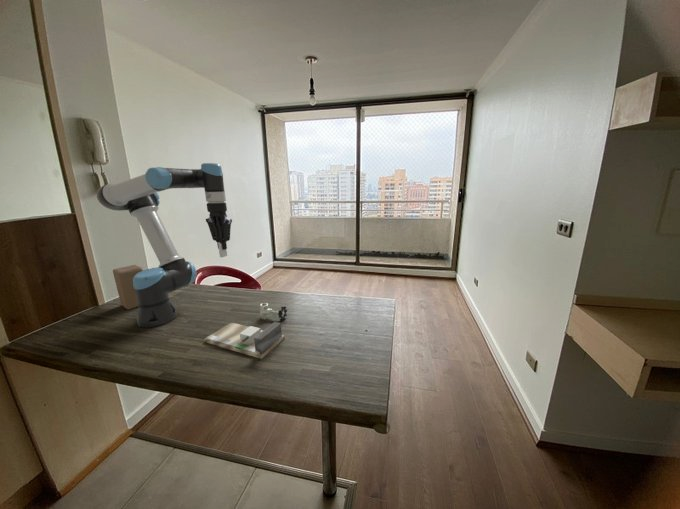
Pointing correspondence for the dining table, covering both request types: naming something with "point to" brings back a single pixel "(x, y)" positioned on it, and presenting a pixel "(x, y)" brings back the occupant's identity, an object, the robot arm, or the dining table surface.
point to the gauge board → (258, 348)
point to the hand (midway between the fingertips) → (223, 256)
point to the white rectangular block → (249, 334)
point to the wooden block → (126, 285)
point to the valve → (271, 312)
